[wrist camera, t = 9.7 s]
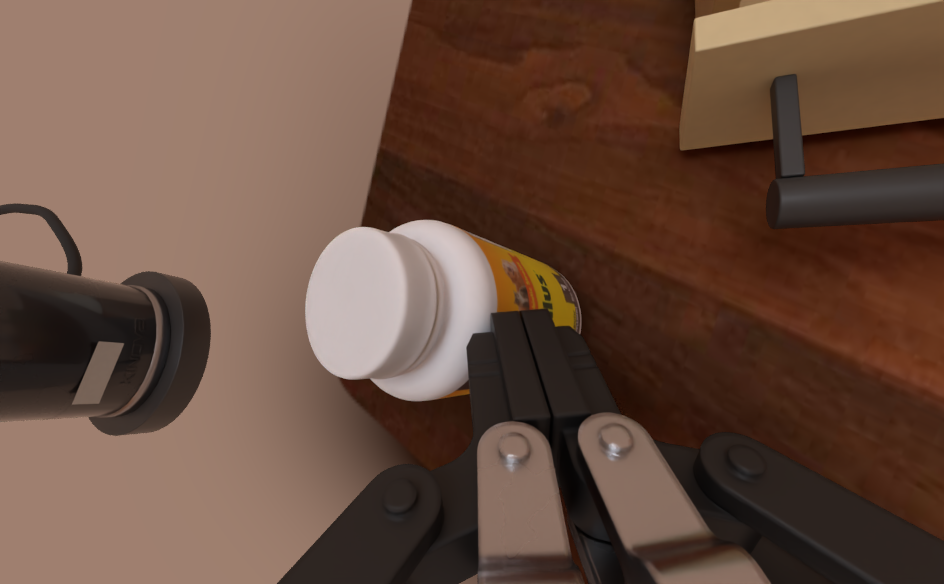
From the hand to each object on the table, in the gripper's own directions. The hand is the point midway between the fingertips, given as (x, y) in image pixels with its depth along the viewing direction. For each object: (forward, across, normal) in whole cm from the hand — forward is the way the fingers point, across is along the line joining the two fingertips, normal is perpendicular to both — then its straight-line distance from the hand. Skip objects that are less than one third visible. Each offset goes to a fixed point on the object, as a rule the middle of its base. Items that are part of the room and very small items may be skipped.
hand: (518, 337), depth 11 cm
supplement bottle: (+6, +2, -4) cm, 8 cm away
